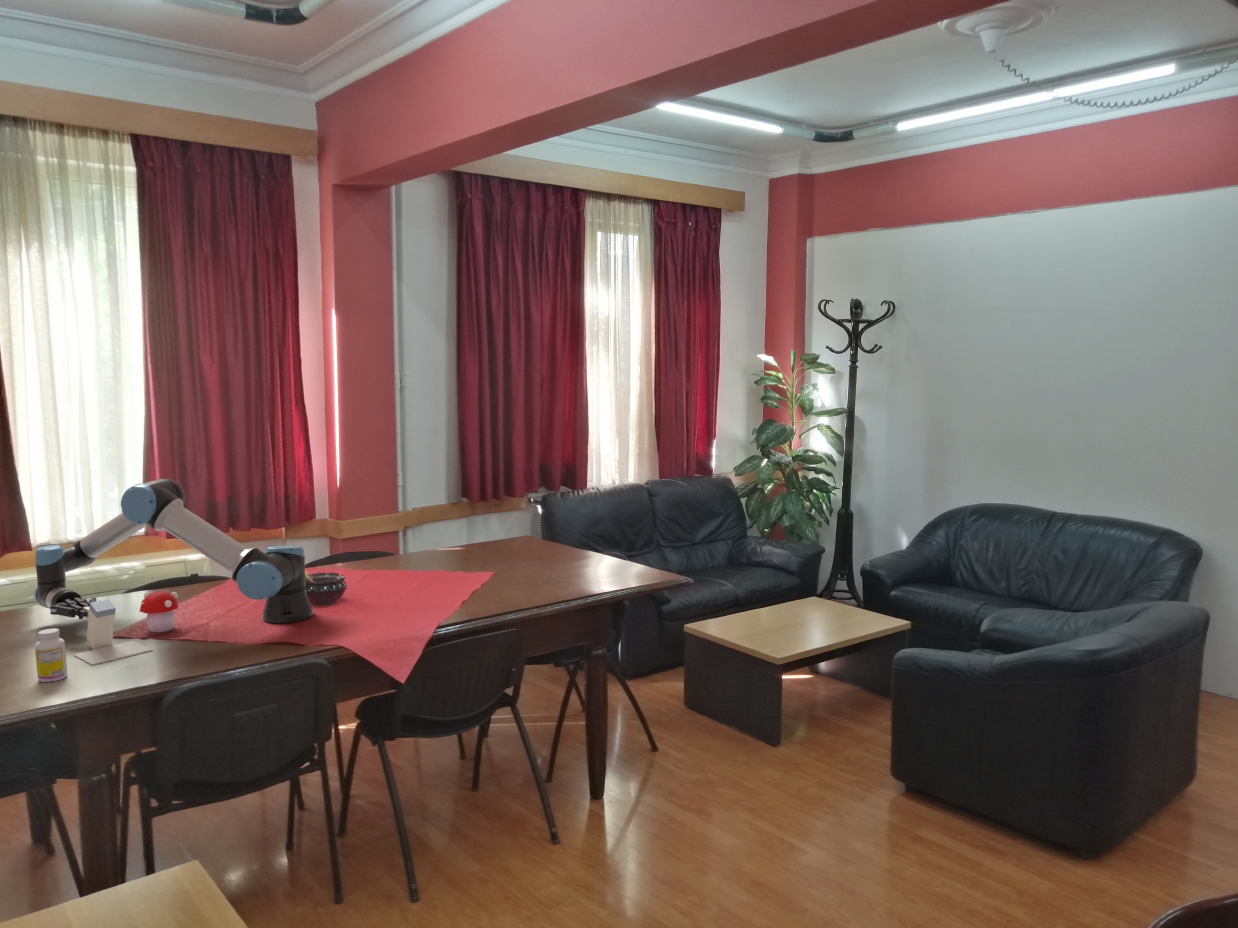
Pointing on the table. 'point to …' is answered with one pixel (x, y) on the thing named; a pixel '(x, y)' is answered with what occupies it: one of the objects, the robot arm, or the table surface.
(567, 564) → the table surface
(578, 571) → the table surface
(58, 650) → the supplement bottle
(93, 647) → the cream block
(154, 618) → the mushroom
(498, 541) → the table surface
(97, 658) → the felt mat
